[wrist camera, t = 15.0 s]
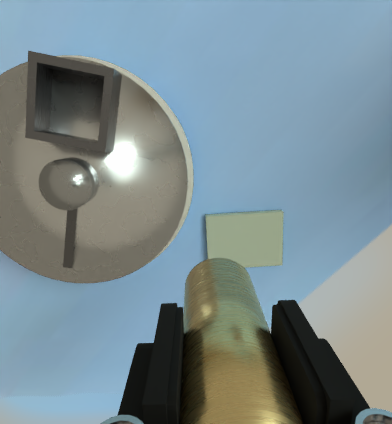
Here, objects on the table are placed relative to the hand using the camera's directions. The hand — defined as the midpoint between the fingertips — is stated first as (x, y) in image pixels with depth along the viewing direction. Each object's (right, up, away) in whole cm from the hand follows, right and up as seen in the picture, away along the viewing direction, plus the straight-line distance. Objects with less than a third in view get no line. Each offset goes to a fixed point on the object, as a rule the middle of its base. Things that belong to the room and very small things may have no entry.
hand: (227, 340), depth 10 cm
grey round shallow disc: (-11, +7, +16) cm, 21 cm away
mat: (+4, +2, +21) cm, 22 cm away
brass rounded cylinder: (0, +1, +4) cm, 4 cm away
